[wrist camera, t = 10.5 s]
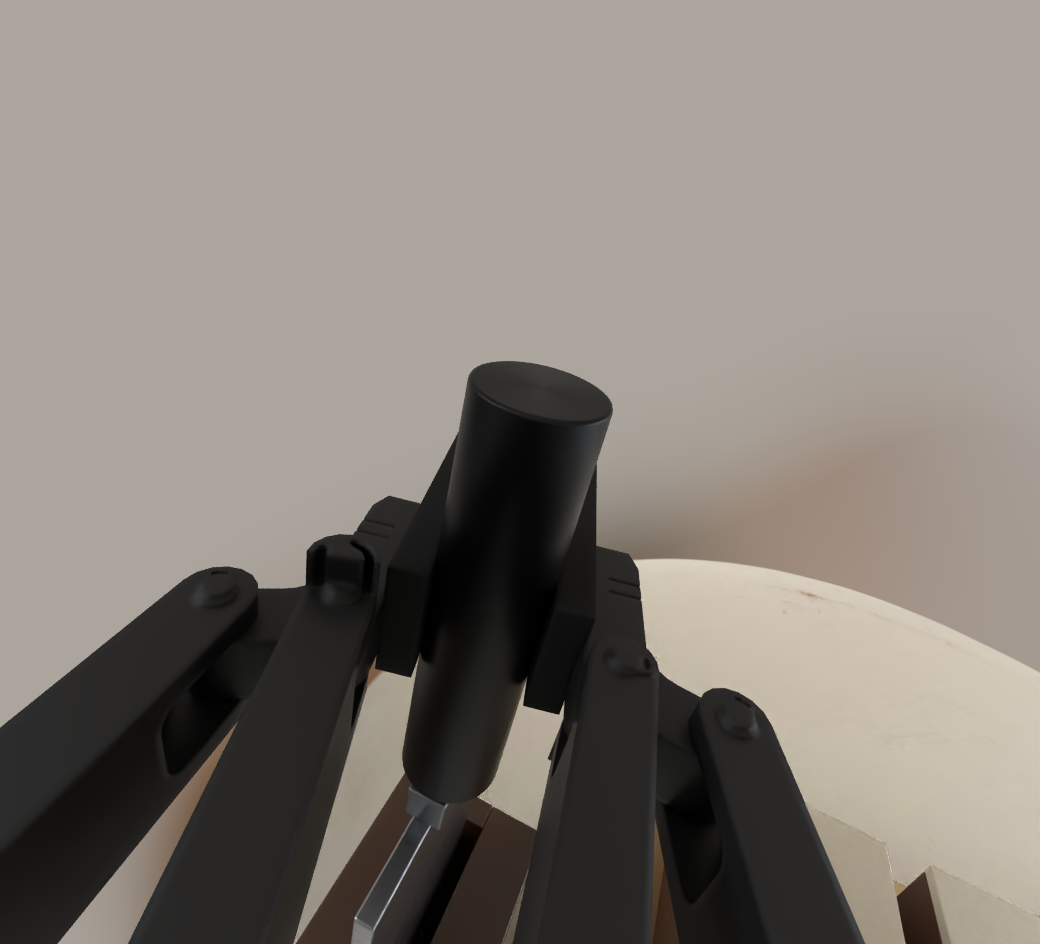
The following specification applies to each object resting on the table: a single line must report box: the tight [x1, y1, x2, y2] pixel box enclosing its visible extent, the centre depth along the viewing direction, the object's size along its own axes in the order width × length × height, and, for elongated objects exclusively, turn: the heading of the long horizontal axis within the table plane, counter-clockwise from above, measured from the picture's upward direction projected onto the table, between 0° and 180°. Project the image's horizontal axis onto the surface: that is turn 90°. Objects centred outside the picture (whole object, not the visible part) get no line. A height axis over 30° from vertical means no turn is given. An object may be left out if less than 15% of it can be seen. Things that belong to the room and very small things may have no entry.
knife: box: [351, 361, 613, 944], centre depth 15 cm, size 2×7×23 cm, turn 158°
